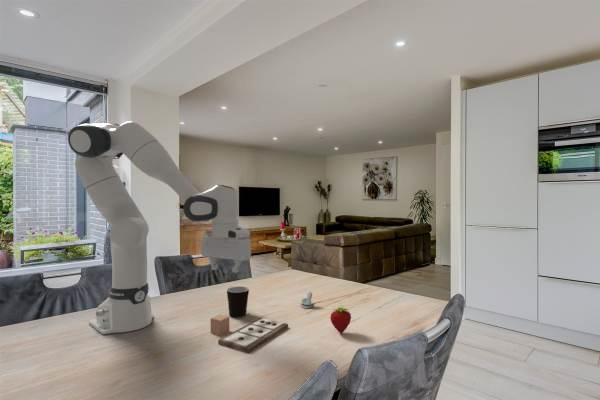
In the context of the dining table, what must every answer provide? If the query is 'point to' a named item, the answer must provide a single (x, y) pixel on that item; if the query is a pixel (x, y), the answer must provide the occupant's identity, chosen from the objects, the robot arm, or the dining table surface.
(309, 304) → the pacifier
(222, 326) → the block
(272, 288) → the dining table surface
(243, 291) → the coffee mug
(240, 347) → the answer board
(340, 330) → the strawberry
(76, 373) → the dining table surface
